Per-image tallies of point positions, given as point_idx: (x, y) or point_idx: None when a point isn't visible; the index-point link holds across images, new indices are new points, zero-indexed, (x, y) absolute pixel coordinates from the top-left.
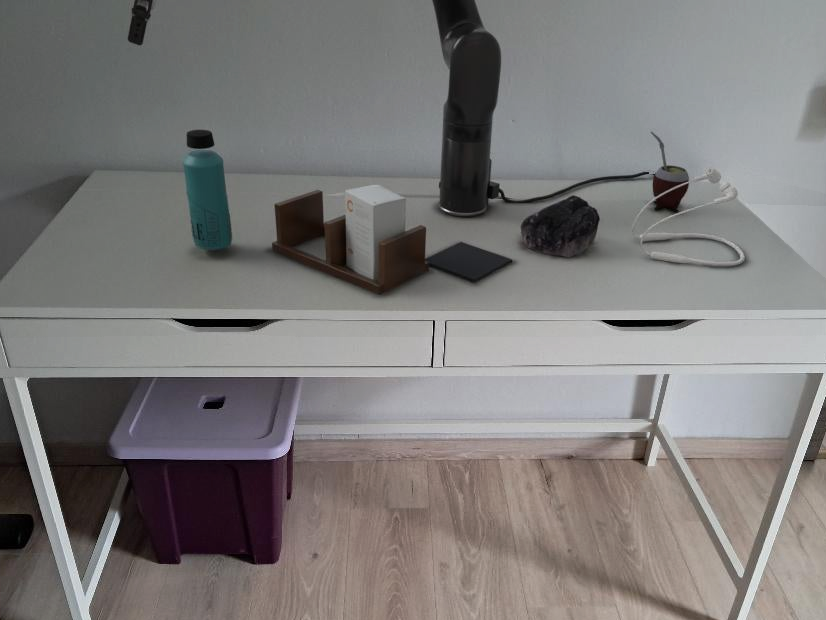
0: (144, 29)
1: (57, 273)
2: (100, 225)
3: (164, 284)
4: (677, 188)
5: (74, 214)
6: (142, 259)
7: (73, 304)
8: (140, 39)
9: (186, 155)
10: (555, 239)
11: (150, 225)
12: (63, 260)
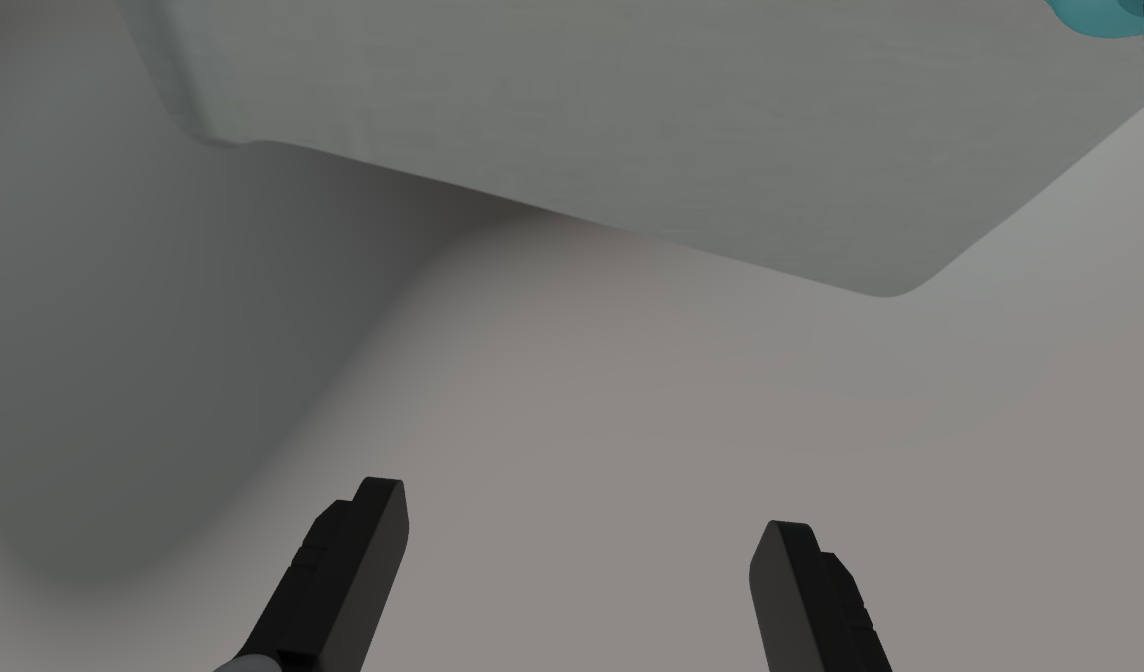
0: (852, 643)
1: (837, 226)
2: (606, 145)
3: None
4: None
5: (524, 189)
6: (878, 66)
7: (1007, 208)
8: (851, 575)
9: (1115, 22)
10: None
11: (644, 25)
12: (778, 215)
